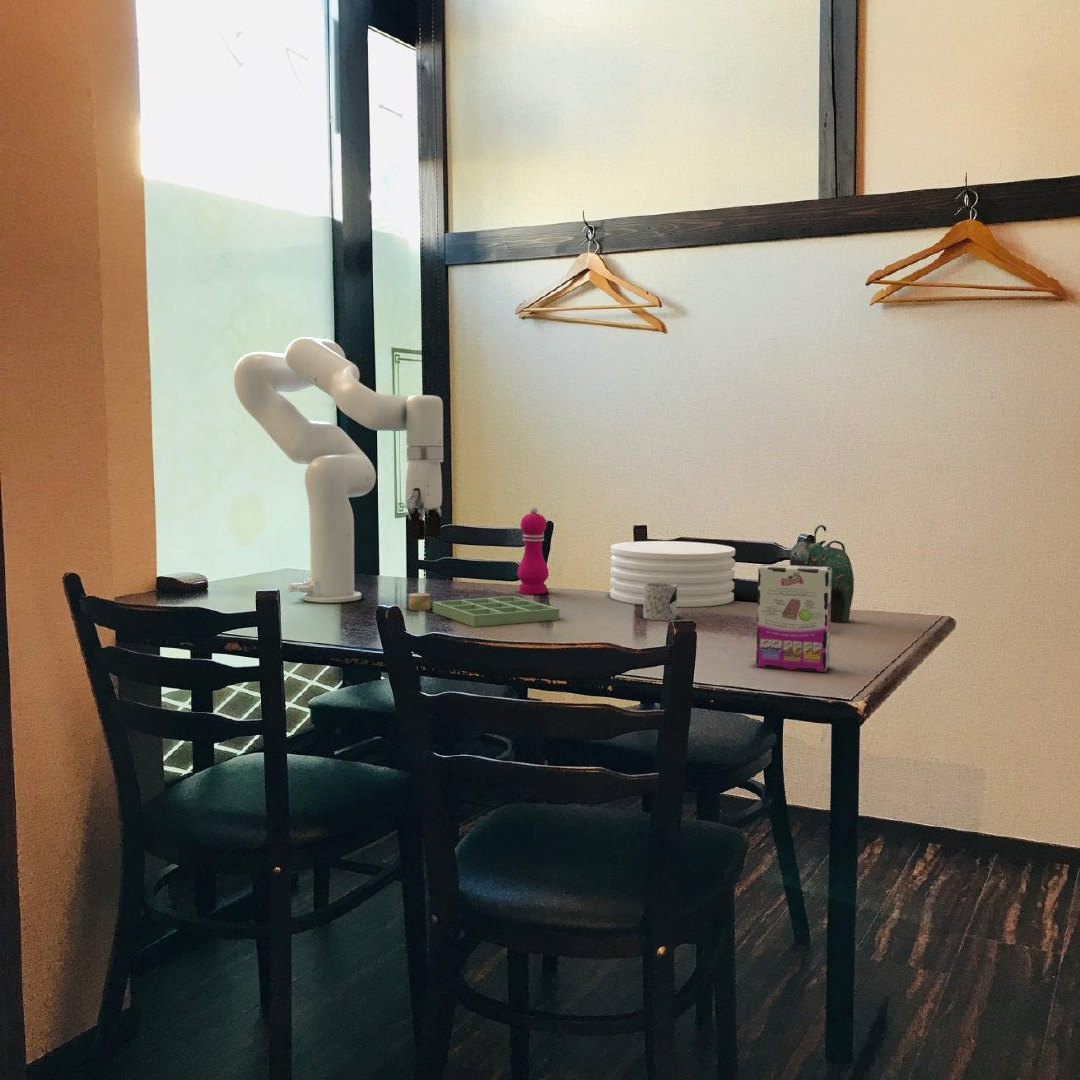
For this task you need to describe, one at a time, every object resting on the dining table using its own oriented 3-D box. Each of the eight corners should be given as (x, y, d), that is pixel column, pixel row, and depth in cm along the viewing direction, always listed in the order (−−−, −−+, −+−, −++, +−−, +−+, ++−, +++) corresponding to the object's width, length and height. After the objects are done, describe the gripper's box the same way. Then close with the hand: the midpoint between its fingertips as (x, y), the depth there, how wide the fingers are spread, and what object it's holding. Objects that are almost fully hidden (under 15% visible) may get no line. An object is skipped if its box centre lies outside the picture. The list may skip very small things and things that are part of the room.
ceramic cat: (808, 634, 210) (812, 528, 208) (778, 629, 214) (782, 525, 212) (858, 621, 224) (862, 522, 222) (829, 617, 228) (833, 520, 226)
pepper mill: (549, 590, 262) (550, 505, 260) (546, 595, 255) (547, 507, 253) (519, 589, 263) (520, 505, 261) (515, 594, 256) (516, 507, 254)
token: (414, 610, 231) (414, 596, 230) (405, 607, 235) (405, 593, 234) (433, 609, 233) (433, 595, 233) (424, 606, 237) (425, 592, 236)
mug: (677, 620, 223) (678, 587, 222) (643, 619, 223) (644, 587, 222) (673, 612, 233) (674, 581, 232) (641, 611, 233) (642, 580, 232)
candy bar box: (829, 667, 180) (833, 566, 178) (825, 673, 175) (829, 569, 174) (760, 661, 184) (763, 562, 182) (754, 667, 179) (757, 566, 178)
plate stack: (590, 591, 262) (590, 542, 261) (694, 586, 272) (695, 539, 271) (644, 609, 236) (646, 555, 235) (758, 603, 246) (759, 551, 245)
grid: (474, 626, 213) (474, 615, 213) (432, 612, 229) (432, 601, 229) (559, 619, 222) (559, 608, 222) (513, 606, 239) (513, 595, 238)
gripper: (422, 454, 240) (423, 533, 242) (392, 455, 224) (393, 540, 225) (455, 454, 239) (456, 534, 240) (427, 456, 222) (428, 541, 223)
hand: (425, 537), depth 233 cm, fingers open, 9 cm apart
